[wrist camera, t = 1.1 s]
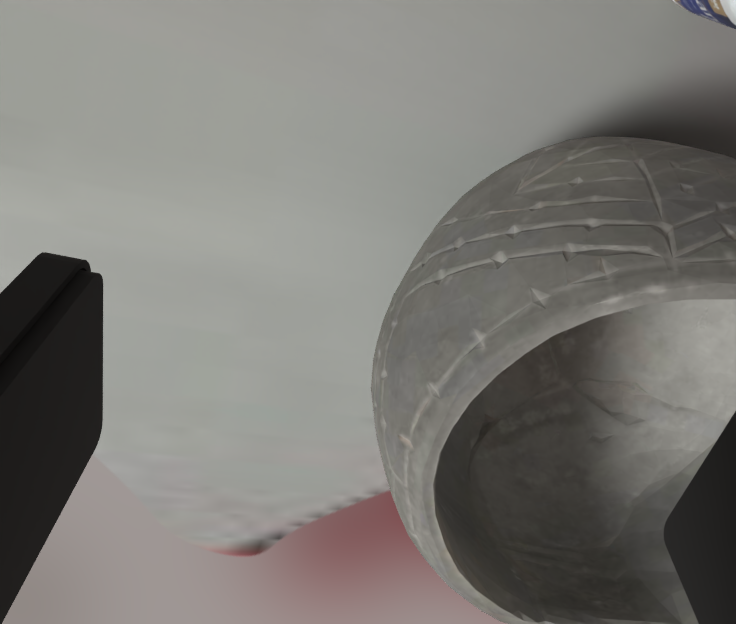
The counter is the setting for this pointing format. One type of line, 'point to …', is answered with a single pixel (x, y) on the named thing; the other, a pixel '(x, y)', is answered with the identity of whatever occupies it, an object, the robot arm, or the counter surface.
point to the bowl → (563, 378)
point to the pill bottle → (712, 10)
